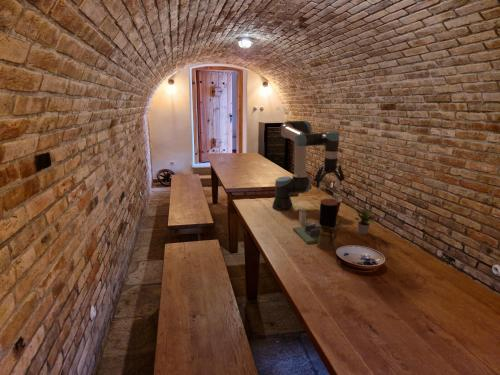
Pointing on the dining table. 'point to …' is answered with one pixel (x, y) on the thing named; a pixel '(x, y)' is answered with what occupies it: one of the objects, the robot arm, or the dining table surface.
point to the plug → (302, 217)
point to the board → (309, 232)
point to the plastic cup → (337, 203)
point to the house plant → (364, 221)
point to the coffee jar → (328, 212)
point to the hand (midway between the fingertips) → (328, 191)
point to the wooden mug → (327, 237)
